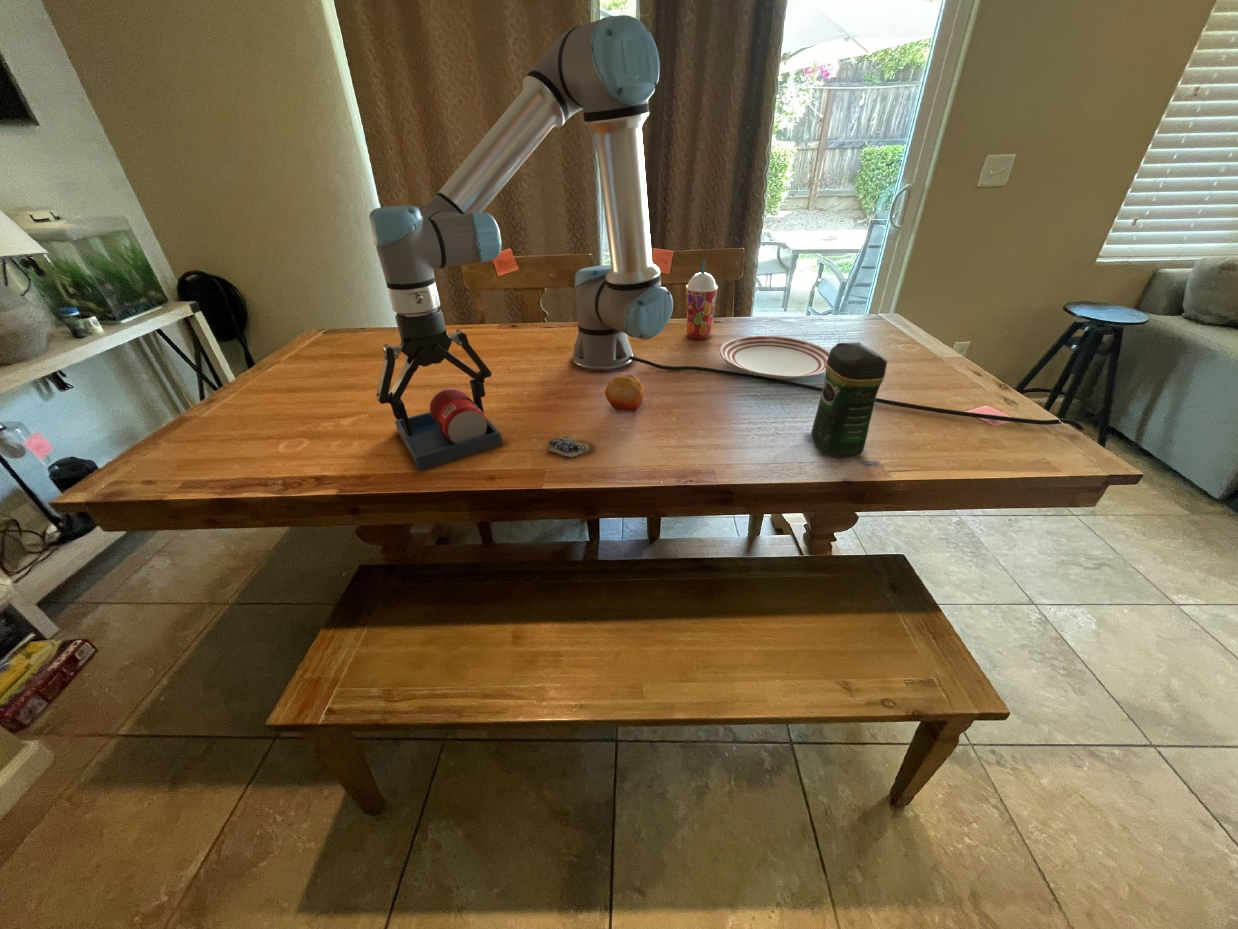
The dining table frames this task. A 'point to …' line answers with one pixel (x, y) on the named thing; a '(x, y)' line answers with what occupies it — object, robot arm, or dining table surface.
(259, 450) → the dining table surface
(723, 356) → the dinner plate
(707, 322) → the smoothie
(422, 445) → the tray
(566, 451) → the grey mineral rock
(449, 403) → the canned food
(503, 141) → the robot arm
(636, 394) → the fruit
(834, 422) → the coffee jar
